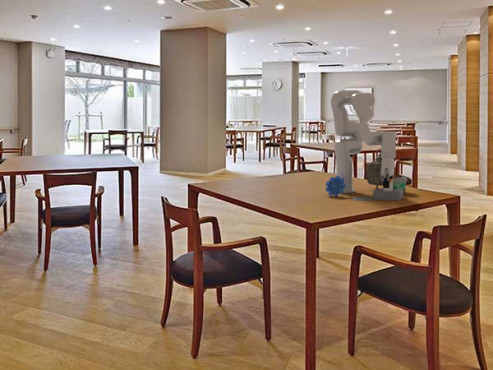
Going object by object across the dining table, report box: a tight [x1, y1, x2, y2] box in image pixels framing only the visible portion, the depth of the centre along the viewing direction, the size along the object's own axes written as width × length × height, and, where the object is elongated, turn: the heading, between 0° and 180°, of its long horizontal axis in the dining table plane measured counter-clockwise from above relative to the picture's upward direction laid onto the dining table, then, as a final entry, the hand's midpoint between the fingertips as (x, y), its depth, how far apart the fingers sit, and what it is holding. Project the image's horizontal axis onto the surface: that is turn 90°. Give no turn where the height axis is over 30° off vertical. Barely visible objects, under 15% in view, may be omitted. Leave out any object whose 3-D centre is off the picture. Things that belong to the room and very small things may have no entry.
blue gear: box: [325, 176, 346, 197], centre depth 280 cm, size 12×7×12 cm, turn 68°
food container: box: [393, 175, 408, 195], centre depth 279 cm, size 12×6×10 cm, turn 129°
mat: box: [351, 196, 374, 202], centre depth 266 cm, size 10×10×1 cm
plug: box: [383, 179, 393, 191], centre depth 264 cm, size 4×4×10 cm
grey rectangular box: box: [372, 187, 404, 202], centre depth 265 cm, size 14×10×5 cm
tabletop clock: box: [366, 148, 388, 190], centre depth 294 cm, size 14×9×25 cm, turn 129°
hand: (388, 186), depth 264 cm, fingers open, 9 cm apart
